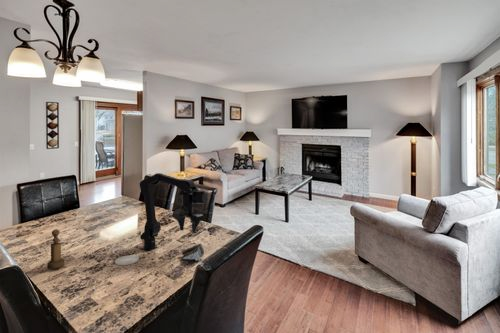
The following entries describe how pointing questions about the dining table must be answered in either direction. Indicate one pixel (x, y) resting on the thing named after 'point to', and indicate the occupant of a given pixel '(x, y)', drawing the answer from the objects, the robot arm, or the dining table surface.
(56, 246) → the wooden chess pawn
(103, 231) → the dining table surface
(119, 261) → the white round plate
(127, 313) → the dining table surface
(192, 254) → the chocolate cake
